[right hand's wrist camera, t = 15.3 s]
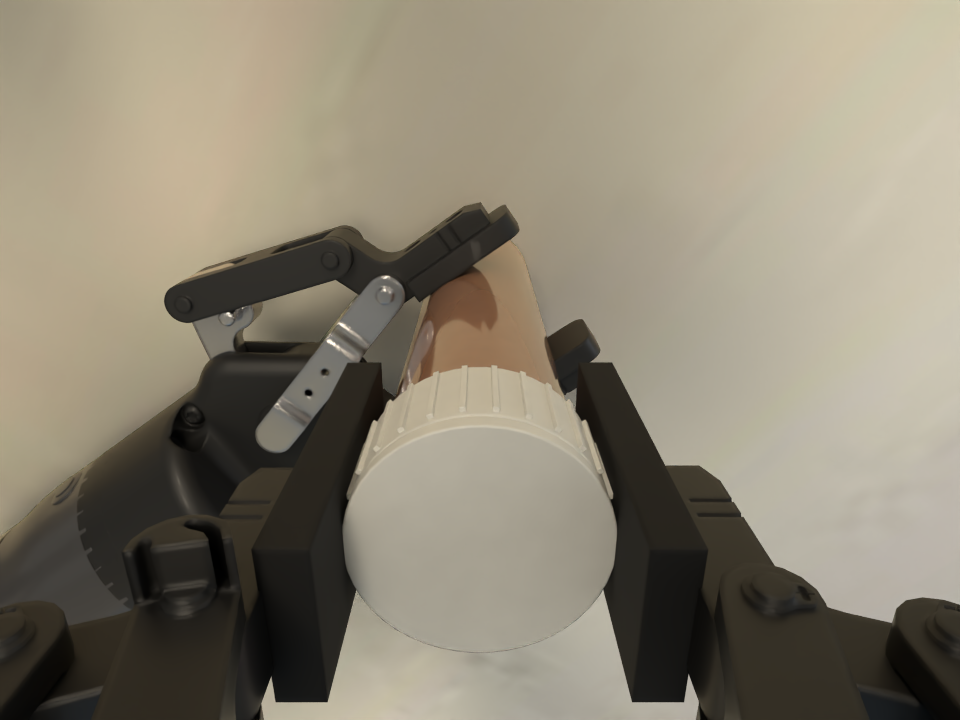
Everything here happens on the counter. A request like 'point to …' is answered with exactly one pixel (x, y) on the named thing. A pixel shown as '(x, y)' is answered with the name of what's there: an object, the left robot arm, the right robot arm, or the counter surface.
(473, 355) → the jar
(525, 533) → the lid
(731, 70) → the counter surface
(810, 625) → the right robot arm
